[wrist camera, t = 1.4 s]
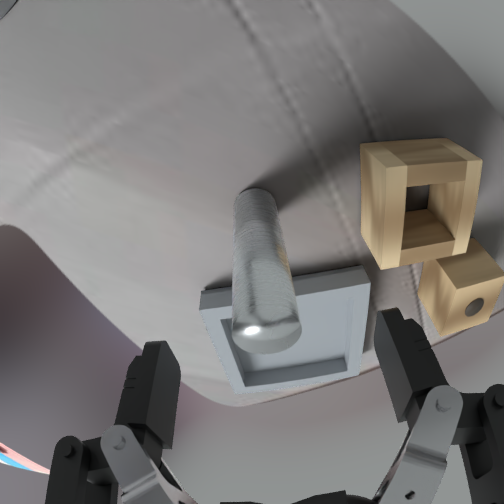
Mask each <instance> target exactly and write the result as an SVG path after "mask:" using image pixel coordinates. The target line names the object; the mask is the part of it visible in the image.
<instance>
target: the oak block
mask: <svg viewBox="0 0 504 504" xmlns="http://www.w3.org/2000/svg"><path fill="white" fill-rule="evenodd" d="M482 161H483V160H482V159H480V158H478V157H477V156H475V155H474V154H472V153H471V152H469V151H467V150H466V149H464V148H463V147H461V146H459V145H458V144H456V143H454V142H453V141H451V140H449V139H447V138H435V139H414V140H398V141H385V142H373V143H362V144H360V164H361V235H362V236H363V238H364V240H365V242H366V244H367V245H368V247H369V249H370V251H371V253H372V254H373V256H374V258H375V260H376V262H377V264H378V266H379V267H380V269H381V270H383V269H388V268H393V267H399V266H404V265H409V264H414V263H419V262H424V261H429V260H433V259H438V258H443V257H448V256H452V255H457V254H462V253H466V250H467V246H468V242H469V238H470V233H471V228H472V224H473V219H474V214H475V208H476V203H477V197H478V191H479V184H480V177H481V170H482ZM421 185H430V187H429V198H428V207H427V209H423V210H416V211H409V212H405V202H406V187H412V186H421Z"/></svg>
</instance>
